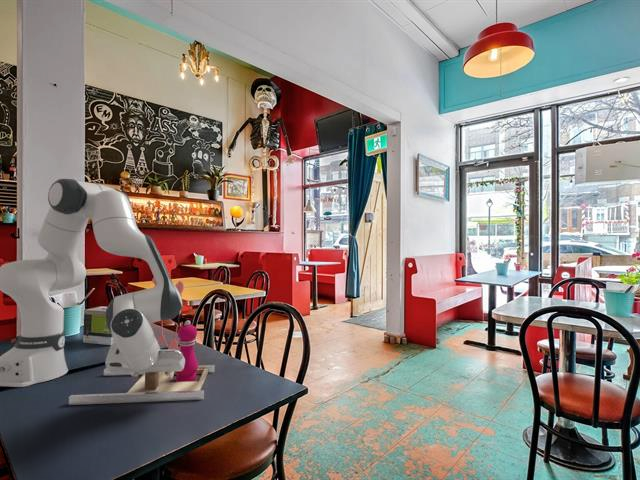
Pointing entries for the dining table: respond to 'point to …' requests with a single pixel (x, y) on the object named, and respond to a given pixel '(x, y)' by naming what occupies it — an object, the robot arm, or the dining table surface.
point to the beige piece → (166, 383)
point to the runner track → (138, 394)
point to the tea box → (96, 327)
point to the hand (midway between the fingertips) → (152, 373)
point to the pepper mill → (187, 353)
